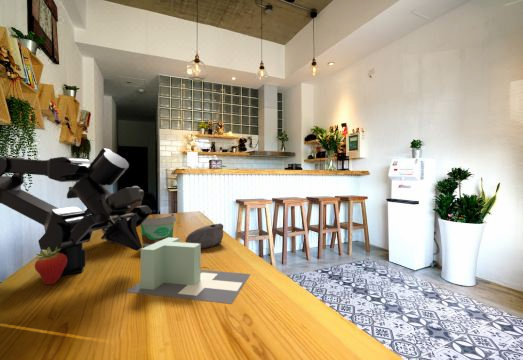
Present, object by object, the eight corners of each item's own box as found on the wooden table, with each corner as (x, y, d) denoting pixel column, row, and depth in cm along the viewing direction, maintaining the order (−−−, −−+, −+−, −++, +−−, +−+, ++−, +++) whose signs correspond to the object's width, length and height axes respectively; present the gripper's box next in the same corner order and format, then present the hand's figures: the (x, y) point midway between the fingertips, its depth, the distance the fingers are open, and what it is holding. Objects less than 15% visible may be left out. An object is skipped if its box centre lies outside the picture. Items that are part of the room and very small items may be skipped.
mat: (124, 293, 49) (124, 291, 49) (165, 267, 63) (165, 266, 63) (231, 305, 45) (231, 303, 45) (250, 275, 59) (250, 274, 59)
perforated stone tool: (190, 254, 75) (190, 230, 75) (180, 250, 78) (180, 228, 78) (228, 244, 86) (228, 224, 86) (218, 241, 90) (218, 222, 89)
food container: (148, 252, 75) (148, 219, 75) (138, 249, 79) (138, 217, 79) (183, 244, 85) (183, 214, 85) (173, 241, 89) (173, 213, 89)
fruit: (35, 282, 54) (35, 245, 54) (66, 276, 57) (66, 241, 57) (34, 291, 50) (33, 251, 50) (68, 284, 53) (67, 246, 53)
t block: (140, 288, 51) (140, 249, 51) (168, 270, 61) (168, 237, 61) (185, 293, 49) (186, 252, 49) (206, 273, 59) (207, 239, 59)
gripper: (82, 174, 48) (133, 234, 46) (145, 175, 66) (183, 218, 64) (49, 213, 50) (96, 273, 48) (119, 203, 68) (156, 246, 66)
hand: (139, 249), depth 56 cm, fingers closed
